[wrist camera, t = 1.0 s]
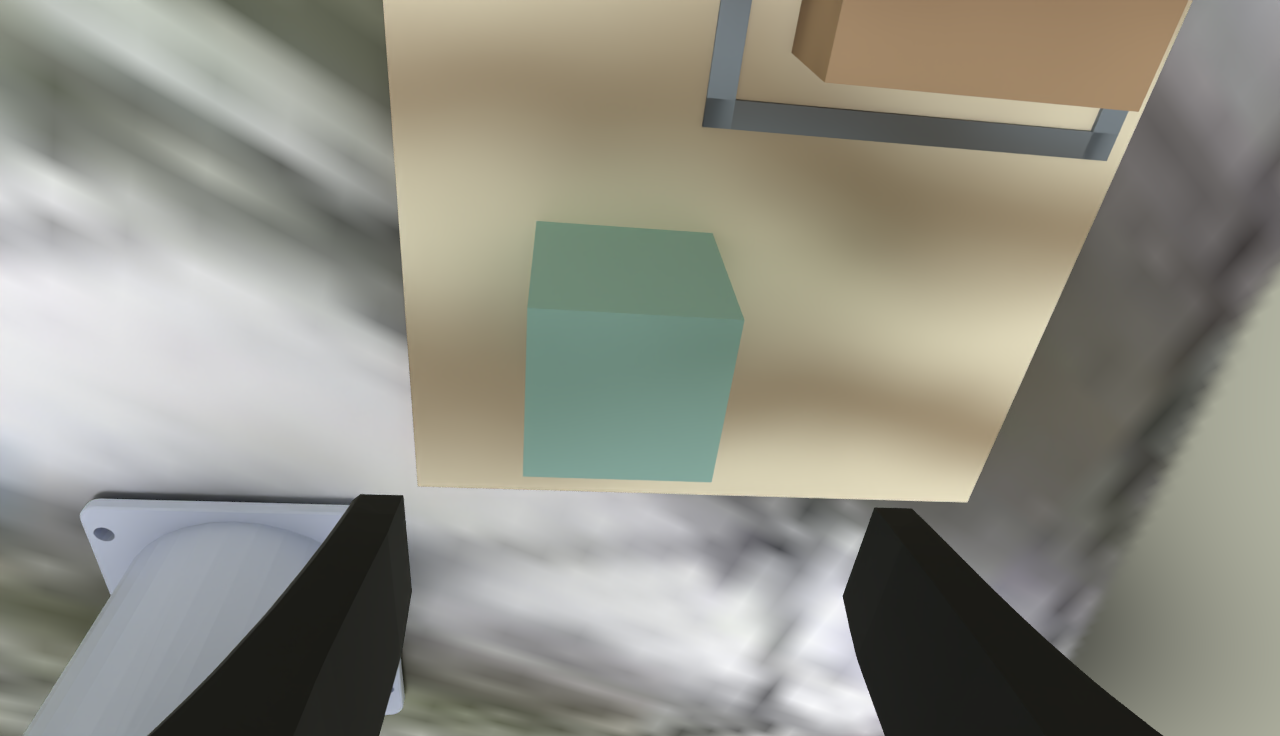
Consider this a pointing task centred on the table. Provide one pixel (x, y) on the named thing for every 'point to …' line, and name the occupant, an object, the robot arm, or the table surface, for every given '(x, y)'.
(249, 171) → the table surface
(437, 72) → the build board
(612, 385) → the teal block
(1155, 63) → the walnut slab
